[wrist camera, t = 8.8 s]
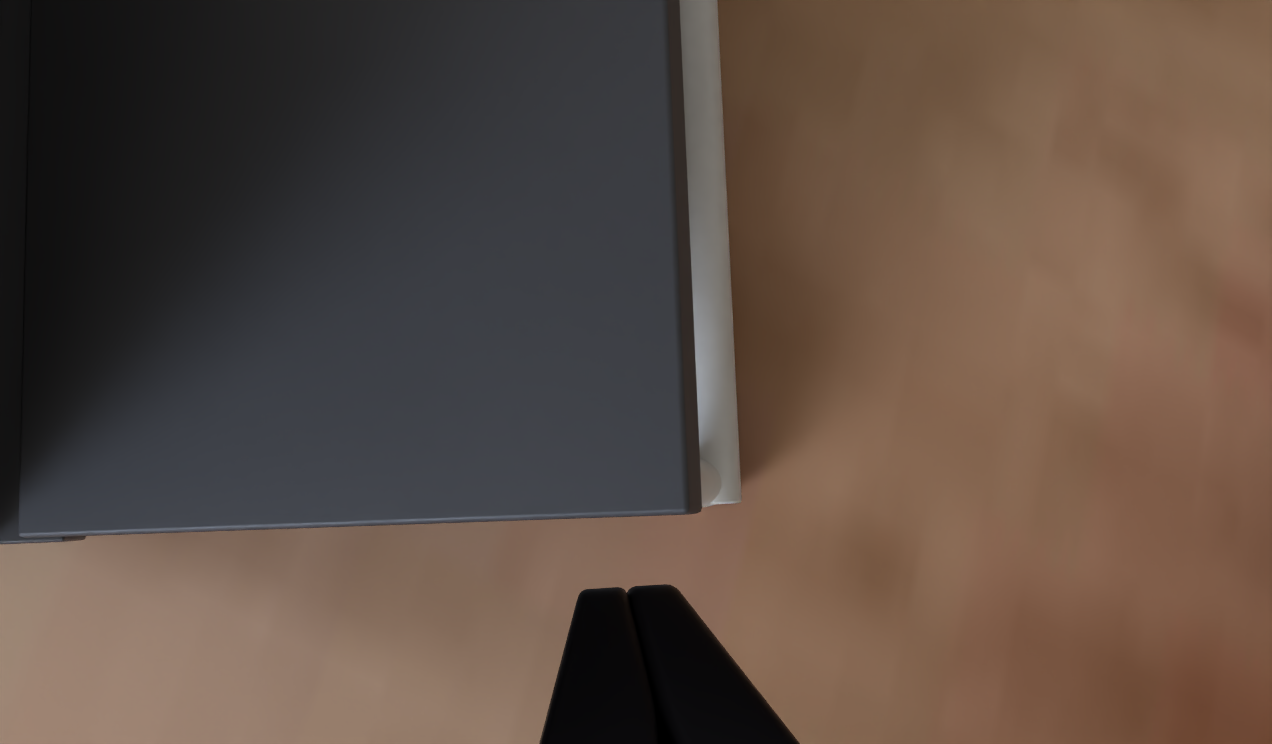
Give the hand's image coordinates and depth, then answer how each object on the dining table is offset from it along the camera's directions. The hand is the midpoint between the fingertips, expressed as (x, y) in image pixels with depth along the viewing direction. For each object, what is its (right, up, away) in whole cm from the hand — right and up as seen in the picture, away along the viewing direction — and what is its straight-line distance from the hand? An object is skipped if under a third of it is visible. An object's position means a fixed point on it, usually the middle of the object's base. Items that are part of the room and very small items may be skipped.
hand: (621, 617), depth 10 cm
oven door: (-9, +6, +12) cm, 17 cm away
